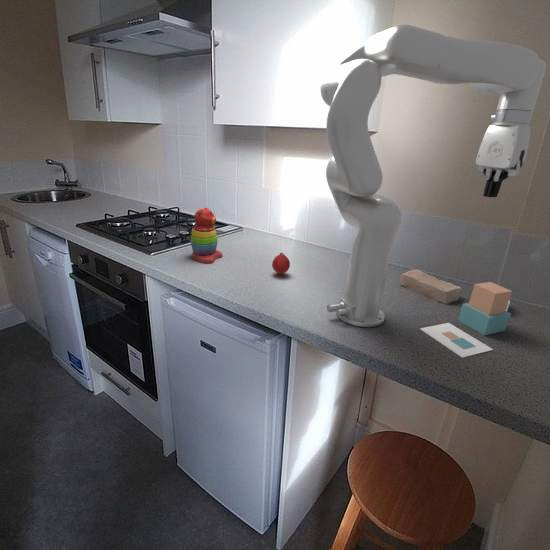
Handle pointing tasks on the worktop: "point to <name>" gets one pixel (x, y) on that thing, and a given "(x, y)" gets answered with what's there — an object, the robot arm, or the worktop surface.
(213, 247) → the stacking bear
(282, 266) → the onion
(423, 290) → the brick
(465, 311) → the base block
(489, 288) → the clay block
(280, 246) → the worktop surface
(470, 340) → the page
